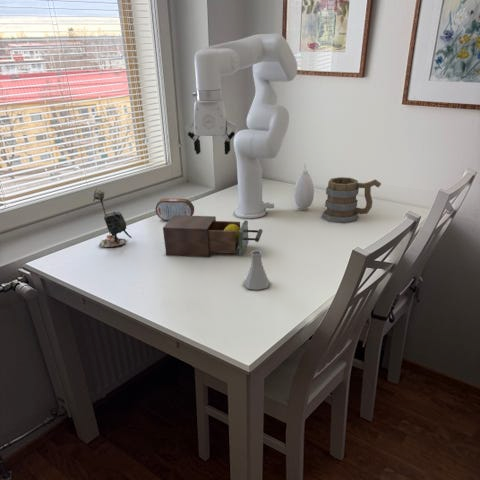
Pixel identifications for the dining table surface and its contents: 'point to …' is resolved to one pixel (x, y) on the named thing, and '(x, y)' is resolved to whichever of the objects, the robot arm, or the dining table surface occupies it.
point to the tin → (173, 208)
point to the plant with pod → (112, 224)
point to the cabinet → (188, 235)
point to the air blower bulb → (304, 190)
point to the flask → (256, 273)
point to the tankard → (346, 199)
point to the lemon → (233, 228)
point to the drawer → (229, 237)
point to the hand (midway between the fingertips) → (212, 153)
